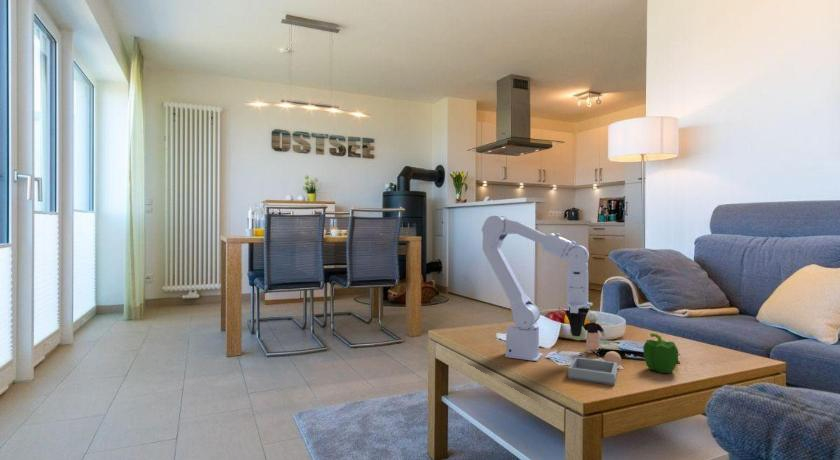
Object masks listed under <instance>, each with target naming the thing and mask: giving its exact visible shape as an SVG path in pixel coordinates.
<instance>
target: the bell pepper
mask: <svg viewBox="0 0 840 460" xmlns="http://www.w3.org/2000/svg"><path fill="white" fill-rule="evenodd" d="M649 335H650V338H653V337H654V338H656V339H657V340H654V339H647V340H646V342H644V345H643V349H642V350H643V357H644V362H645V363H646V364H645V365H646V367H647V368H648V370H651V371H655V372H659V373H661V374H670V373H673V371H674V370H675V368H676V366H677V362H678V358H679V349H678V347H677V345H676V343H675V342H674V341H665V340H664V339H662V336H661V335H659V334H658V333H654V332H653V333H650V334H649Z"/></svg>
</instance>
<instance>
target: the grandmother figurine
mask: <svg viewBox="0 0 840 460" xmlns="http://www.w3.org/2000/svg"><path fill="white" fill-rule="evenodd" d="M598 316H599V315H598V313H597V312H596V311H589V312H588V313H587V315H586V319H587V320H588V322H589V323H588V322H587V323H584V329H585V331H586V350H585V351H586V352H587V353H589V354H593V352H594V353H595V354H598V353H597V350H598V349H599V348H600V349H601V344H600V334H601V336H602V337H604V338H605V337H606V336H607V335H606V333H605V331H604V328H603V327H602V326H601V325H600V324H599V323H596V322H597V320H598V318H599V317H598ZM599 332H600V334H599ZM593 350H594V351H593Z"/></svg>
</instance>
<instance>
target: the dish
mask: <svg viewBox="0 0 840 460" xmlns="http://www.w3.org/2000/svg"><path fill="white" fill-rule="evenodd" d="M567 368H568V369H567V373H568V375H567V379H568V380H575V381H580V382H587V383H593V384H599V385H608V386H615V384H616V380H617V376H618V367H617V363H616V362H608V361H605V360H601V359H600V360H598V359H591V358H585V357H584V358H583V357H576V356H575V357H573V359H572V361H571V362H570V364H569V366H568V367H567Z"/></svg>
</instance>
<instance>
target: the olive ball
mask: <svg viewBox="0 0 840 460" xmlns="http://www.w3.org/2000/svg"><path fill="white" fill-rule="evenodd" d="M569 334H570V335H569V336H570V337H571V338H572V339H573V340H574V341H582V340H583V339H584V338H585V337H586V336H587V331H585V329H584V327H582V330H581V335H580V336H572V333H571V328H570V329H569Z"/></svg>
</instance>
